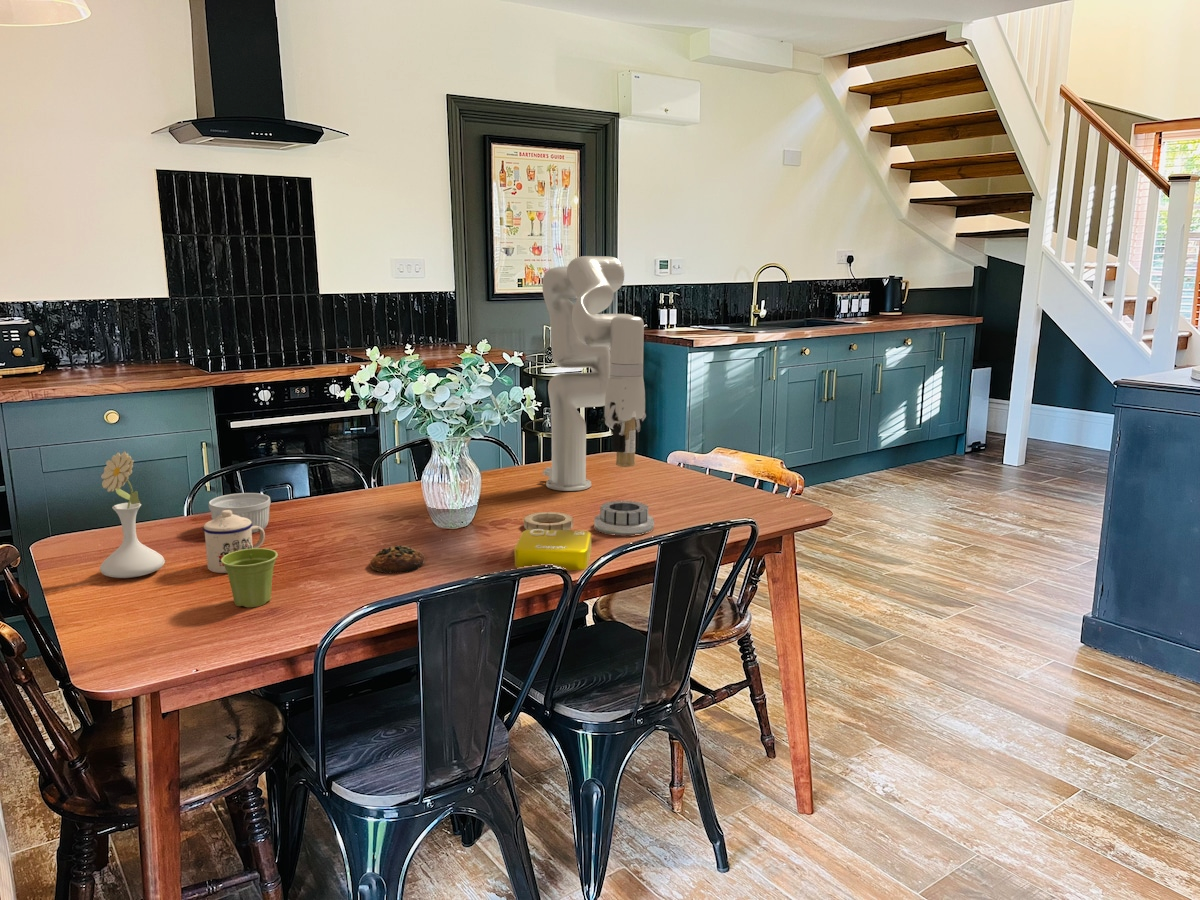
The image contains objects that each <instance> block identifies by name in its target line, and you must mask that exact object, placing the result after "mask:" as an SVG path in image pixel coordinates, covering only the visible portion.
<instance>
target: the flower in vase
mask: <svg viewBox="0 0 1200 900" xmlns="http://www.w3.org/2000/svg"><path fill="white" fill-rule="evenodd" d="M134 462H135V460H134V459H132V457H131V455H129V452H127V453H126V451H123V452H122V453H121V454H120V452H116V454H114V455H112V456H111V460H110V459H108V460H107V461H106V462H105V463H106V466H104V468H103V473H102V474H101V479H102V482H101V486H102V489H107V490H106V491H107V492H108V493H110V492H115V494H116V495H118V496H119V497H121V498H123V499H125V500H128V502H122V503H117V504H114V505H113V506H112V507H111V508H112V509H113V511H114V512H115V513H116V514H117V516H118V517H119V521H120V522H121V527H122V534H123V535H122V536H123V538H122V542H121V544H120V546H119V547H117V548H116V550H114V551H113V552H112V553H111V554H110V555H108V557H106V558H105V559H104V560H103V562H102V563H101V565H100V567H99V571H100V572H101V574H102V575H104V576H106V577H110V578H114V579H115V578H116V579H129V578H137V577H142V576H146V575H149V574H152V573H155V572H156V571H159V570H161V568H163V566H164V564H165V562H166V560H165V558H164V556H163V555H162V554H160V553H159V552H158V551H156V550H154V549H152V548H150V547H148V546H147V545H145V544H144V543H142V542H140V541H139V539H138V536H137V530H136V529H137V527H136V524H137V523H136V521H137V520H136V519H137V514H138V511H139V509H140V507H141V506H142V503H141V501H140V500H139V499H140V498H139V494H138V491H137V490H135V491H134V489H133V487H132V484H131V482H130V480H129V476H131V475H132V474H133V470H132V469H133V467H134V465H133V464H134ZM126 483H127V484H128V486H129V489H130V494H129V493H128V492H126V491H125V490H122V487H124V486H125V484H126Z"/></svg>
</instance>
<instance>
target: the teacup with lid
mask: <svg viewBox="0 0 1200 900" xmlns="http://www.w3.org/2000/svg"><path fill="white" fill-rule="evenodd" d="M221 514H222V515H221V516H218V517H217V518H215V519H214V520H212V519H211V520H209V521H207V522H205V524H204V525H203V528H202V530H203V532H204V539H205V553H206V563H207V569H208V571H210V572H213V573H216V574H228V573H227V571H226V569H225V566H224V564H222V562H221V559H222V557H223V556H225V555H227V554H229V553H231V552H235V551H239V550H244V549H252V548H261V547H262V545H263V543H265V538H266V533H265V529H262V528H261V527H259V526H252V523H251V521H250V520H249V519H248V518H244V517H240V516H238V515H234V514H232V511H231V510H224V511H222V513H221ZM252 530H259V531H258V533H259V538H258V541H257V542H256V543H255V544H254V545H253V533H252Z"/></svg>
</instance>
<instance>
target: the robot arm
mask: <svg viewBox="0 0 1200 900" xmlns="http://www.w3.org/2000/svg"><path fill="white" fill-rule="evenodd" d="M624 280H625V269H624V266H623V264H622V263H621V260H619V259H618V258H616V257H614V256H605V255H604V256H603V255H602V256H600V255H599V256H598V255H582V256H579V257H575V258H573V259H572V260H571V261H570V262H569V263H568V265H567V266H556V267H553V268H552V267H551V268H549V269H548V270H546V271H545V273H544V275H543V277H542V285H541V286H542V287H541V288H542V295H543V299H544V302H545V306H546V308H547V312H548V315H549V319H550V320H549V322H550V341H551V342H550V345H551V356H552V362H553V364H554V366H557V367H558V368H562V369H577V368H578V369H579V368H581V369H582V368H588V369H589V368H590V370H591V372H566V373H565V372H564V373H559V374H556V375H553V376H552V377H551V378H550V379H549V381H548V384H547V392H548V398H549V405H550V416H551V417H550V418H551V420H550V421H551V467H549V466H547V467H545V469H544V470H543V471H542V475H544V476H548V479H547V481H546V482H545V485H546V487H547V488H548V489H551V490H554V491H563V492H577V491H583V490H587V489H589V488H591V487H592V481H591V480H590V479H588V478H586V476H587V423H586V420H585V419H584V417H583V416H582V415H581V414H580V412H579V410H578V409H582V408H594V407H595V408H596V407H597V408H598V407H604V419H605V420H604V424H605V425H606V426H607V427H608V428H609V430H610V434H611V435H612V451H613V452H615V453H617V452H622V453H623V452H625V435H623V434H624V428H625V422H627V421H630V420H631V416H632V413H633V411H635V412H636V417H635V418H636V419H635V430H636V433H635V450H638V449H639V448H640V447H639V437H640V436H639V435H640V434H639V432H640V431H641V427H642V425H643V422H644V420H645V419H646V417H647V413H646V389H645V381H644V336H645V335H644V334H645V333H644V332H645V329H644V328H645V323H644V319H643V318H642V317H641V316H636V315H635V316H634V315H632V314H629V313H602V312H603V311H605V310H607V308H609V307H610V306H611V305H612V302H613V300H614V296H615V295H614V293H616V292H617V291H618V290H621V287H622V286H623V284H624V282H625V281H624ZM571 300H575V302H573V301H571ZM617 418H618V421H617ZM617 424H620V428H619V427H618V425H617Z"/></svg>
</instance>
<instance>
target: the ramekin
mask: <svg viewBox="0 0 1200 900" xmlns="http://www.w3.org/2000/svg"><path fill="white" fill-rule="evenodd" d="M271 502H272V501H271V496H269V495H267V494H264V493H258V492H240V493H230V494H225V495H220V496H217V497H214V498H212V499H211V500H209V502H208V509H209V510H210V515H211V520H214V519H215V518H217V517H218V516H221V515H222V514H221V513H222V511H224V510H231V511H232V514H234V515H238V516H240V517H244V518H248V519H249V520H250V521H251V523H252V526H259V527H261V528H262V529H263V530H265V529H266V527H268V524H269V521H270V505H271ZM255 533H259V530H252V534H255Z"/></svg>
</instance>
